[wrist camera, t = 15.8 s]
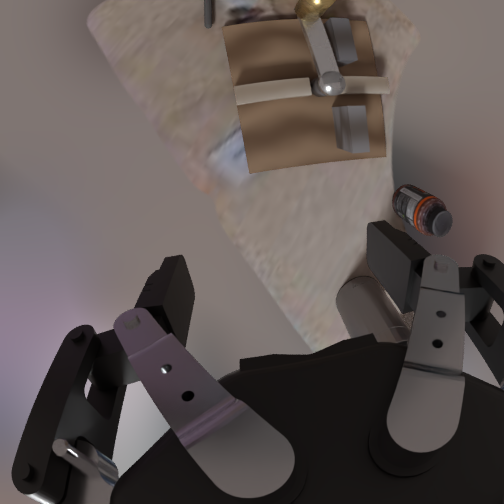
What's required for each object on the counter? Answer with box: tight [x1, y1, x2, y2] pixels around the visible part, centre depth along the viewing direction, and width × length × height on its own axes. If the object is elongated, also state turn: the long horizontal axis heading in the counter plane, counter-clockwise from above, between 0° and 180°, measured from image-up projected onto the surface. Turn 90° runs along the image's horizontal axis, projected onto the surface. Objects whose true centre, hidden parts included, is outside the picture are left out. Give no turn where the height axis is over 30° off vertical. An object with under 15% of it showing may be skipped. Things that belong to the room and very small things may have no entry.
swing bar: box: [294, 0, 346, 96], centre depth 23 cm, size 13×3×7 cm, turn 17°
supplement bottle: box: [392, 185, 452, 237], centre depth 37 cm, size 6×6×11 cm
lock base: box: [222, 18, 390, 174], centre depth 31 cm, size 22×21×8 cm
